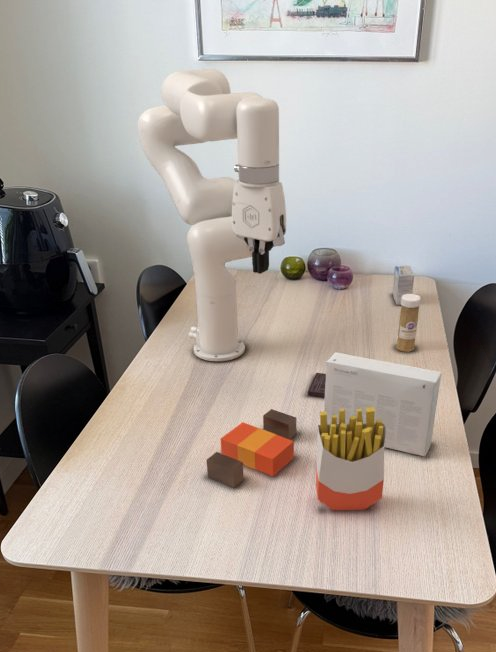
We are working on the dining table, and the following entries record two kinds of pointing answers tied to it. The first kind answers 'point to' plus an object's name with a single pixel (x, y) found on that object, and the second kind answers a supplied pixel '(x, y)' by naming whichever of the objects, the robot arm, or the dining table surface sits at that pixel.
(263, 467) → the orange packet
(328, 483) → the french fries container
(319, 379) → the chocolate bar
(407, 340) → the sprinkles bottle
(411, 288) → the medicine box
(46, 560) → the dining table surface
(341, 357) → the skincare box
